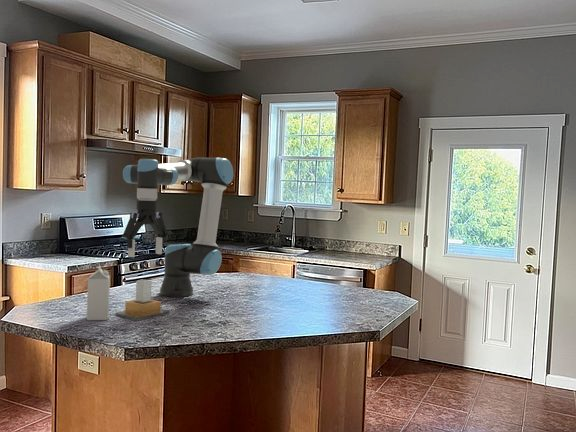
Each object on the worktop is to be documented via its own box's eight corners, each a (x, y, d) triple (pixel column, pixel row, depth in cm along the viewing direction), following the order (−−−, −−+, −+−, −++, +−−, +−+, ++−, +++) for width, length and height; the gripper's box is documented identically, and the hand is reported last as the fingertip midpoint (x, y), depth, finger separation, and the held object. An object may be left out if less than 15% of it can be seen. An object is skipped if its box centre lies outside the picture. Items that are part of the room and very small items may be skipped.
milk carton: (86, 320, 187) (88, 268, 186) (88, 316, 194) (90, 265, 193) (107, 320, 189) (109, 268, 188) (108, 315, 196) (110, 265, 195)
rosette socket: (147, 308, 210) (148, 296, 210) (169, 313, 204) (169, 300, 204) (115, 315, 197) (115, 302, 197) (137, 320, 190) (137, 307, 190)
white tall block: (143, 310, 203) (144, 279, 203) (150, 311, 201) (151, 280, 200) (135, 311, 200) (136, 280, 199) (142, 313, 198) (143, 282, 197)
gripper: (164, 199, 211) (162, 251, 212) (113, 199, 190) (112, 257, 191) (177, 200, 207) (176, 253, 208) (127, 200, 186) (125, 259, 187)
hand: (145, 255), depth 200 cm, fingers open, 13 cm apart
